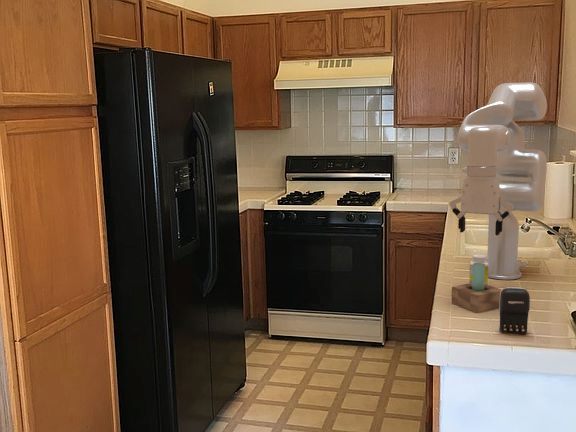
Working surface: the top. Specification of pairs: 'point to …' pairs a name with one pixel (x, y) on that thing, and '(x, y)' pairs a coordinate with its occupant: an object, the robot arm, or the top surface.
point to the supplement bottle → (479, 260)
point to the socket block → (476, 298)
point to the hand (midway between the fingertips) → (479, 232)
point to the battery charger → (514, 310)
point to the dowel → (478, 277)
